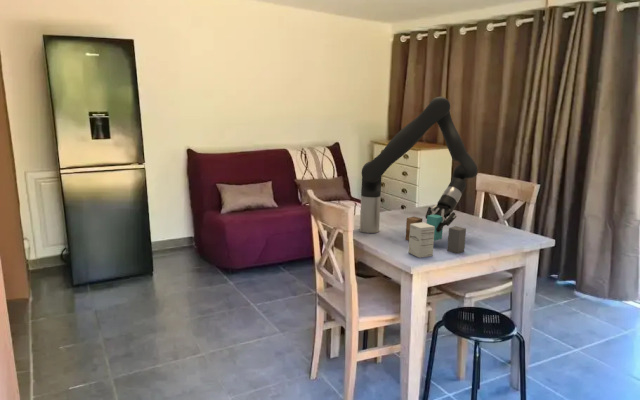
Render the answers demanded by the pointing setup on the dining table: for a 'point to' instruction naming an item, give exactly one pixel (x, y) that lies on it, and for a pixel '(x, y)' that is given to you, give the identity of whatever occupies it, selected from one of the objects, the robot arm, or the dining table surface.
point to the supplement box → (421, 239)
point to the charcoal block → (456, 239)
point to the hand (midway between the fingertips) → (431, 229)
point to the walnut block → (411, 221)
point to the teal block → (435, 221)
